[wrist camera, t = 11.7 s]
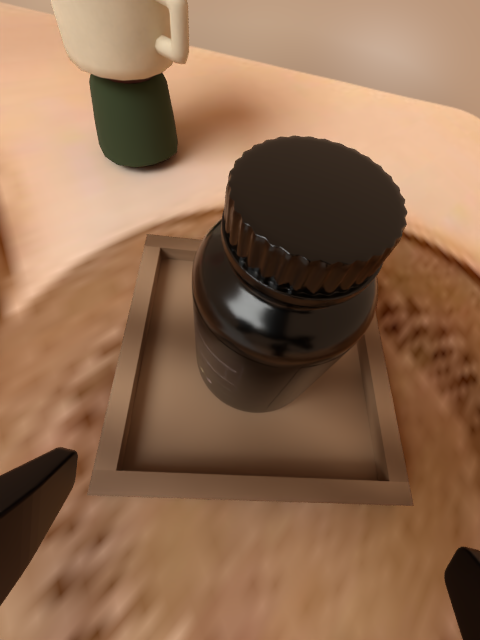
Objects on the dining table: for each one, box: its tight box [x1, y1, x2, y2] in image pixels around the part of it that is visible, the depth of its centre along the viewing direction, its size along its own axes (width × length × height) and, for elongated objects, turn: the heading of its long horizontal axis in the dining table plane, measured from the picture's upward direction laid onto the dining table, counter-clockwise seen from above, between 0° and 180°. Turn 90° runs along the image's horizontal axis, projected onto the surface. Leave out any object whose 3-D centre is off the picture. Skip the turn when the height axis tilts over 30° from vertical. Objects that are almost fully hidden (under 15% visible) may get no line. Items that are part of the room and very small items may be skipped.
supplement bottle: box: [192, 136, 407, 413], centre depth 13 cm, size 7×7×12 cm
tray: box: [87, 234, 414, 506], centre depth 18 cm, size 15×15×2 cm
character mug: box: [50, 0, 189, 167], centre depth 21 cm, size 11×7×13 cm, turn 54°
